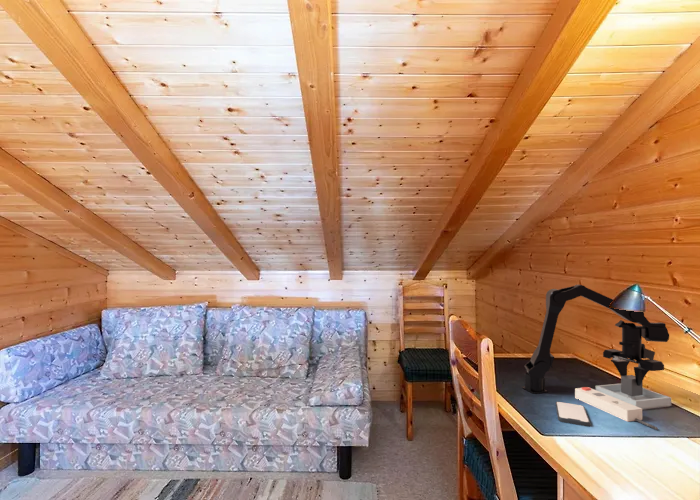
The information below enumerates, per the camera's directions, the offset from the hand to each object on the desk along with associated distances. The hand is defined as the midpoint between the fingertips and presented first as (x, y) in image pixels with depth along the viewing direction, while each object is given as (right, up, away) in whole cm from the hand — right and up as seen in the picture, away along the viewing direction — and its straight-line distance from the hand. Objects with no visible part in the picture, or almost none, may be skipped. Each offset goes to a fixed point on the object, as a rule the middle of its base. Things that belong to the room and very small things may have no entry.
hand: (631, 383), depth 136 cm
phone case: (-30, -6, -13) cm, 33 cm away
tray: (0, -6, 0) cm, 6 cm away
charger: (0, -6, 0) cm, 6 cm away
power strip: (-14, -6, -11) cm, 19 cm away
